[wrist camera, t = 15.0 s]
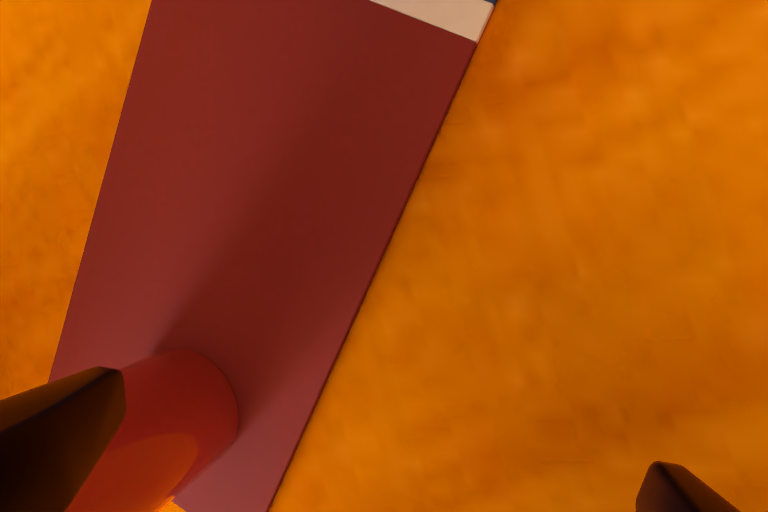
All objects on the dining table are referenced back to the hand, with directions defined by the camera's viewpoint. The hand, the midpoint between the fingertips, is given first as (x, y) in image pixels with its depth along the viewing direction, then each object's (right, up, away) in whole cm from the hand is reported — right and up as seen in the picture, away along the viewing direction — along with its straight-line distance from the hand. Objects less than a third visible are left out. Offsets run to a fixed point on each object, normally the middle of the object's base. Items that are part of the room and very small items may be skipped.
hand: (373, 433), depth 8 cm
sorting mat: (-5, +8, +13) cm, 16 cm away
